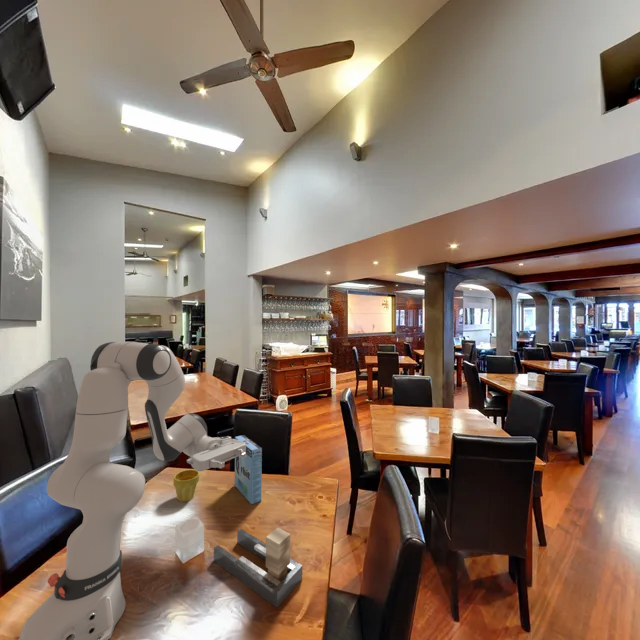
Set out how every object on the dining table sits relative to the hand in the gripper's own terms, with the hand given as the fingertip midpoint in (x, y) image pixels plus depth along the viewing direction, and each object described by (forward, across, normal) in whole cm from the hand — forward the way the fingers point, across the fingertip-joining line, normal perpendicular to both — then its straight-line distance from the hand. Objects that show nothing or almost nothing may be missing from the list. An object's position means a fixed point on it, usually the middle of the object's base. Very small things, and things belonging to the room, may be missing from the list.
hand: (234, 460), depth 102 cm
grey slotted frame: (+14, -2, +28) cm, 32 cm away
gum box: (-20, +24, +28) cm, 42 cm away
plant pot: (-39, +6, +28) cm, 49 cm away
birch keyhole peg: (+24, -2, +29) cm, 37 cm away
